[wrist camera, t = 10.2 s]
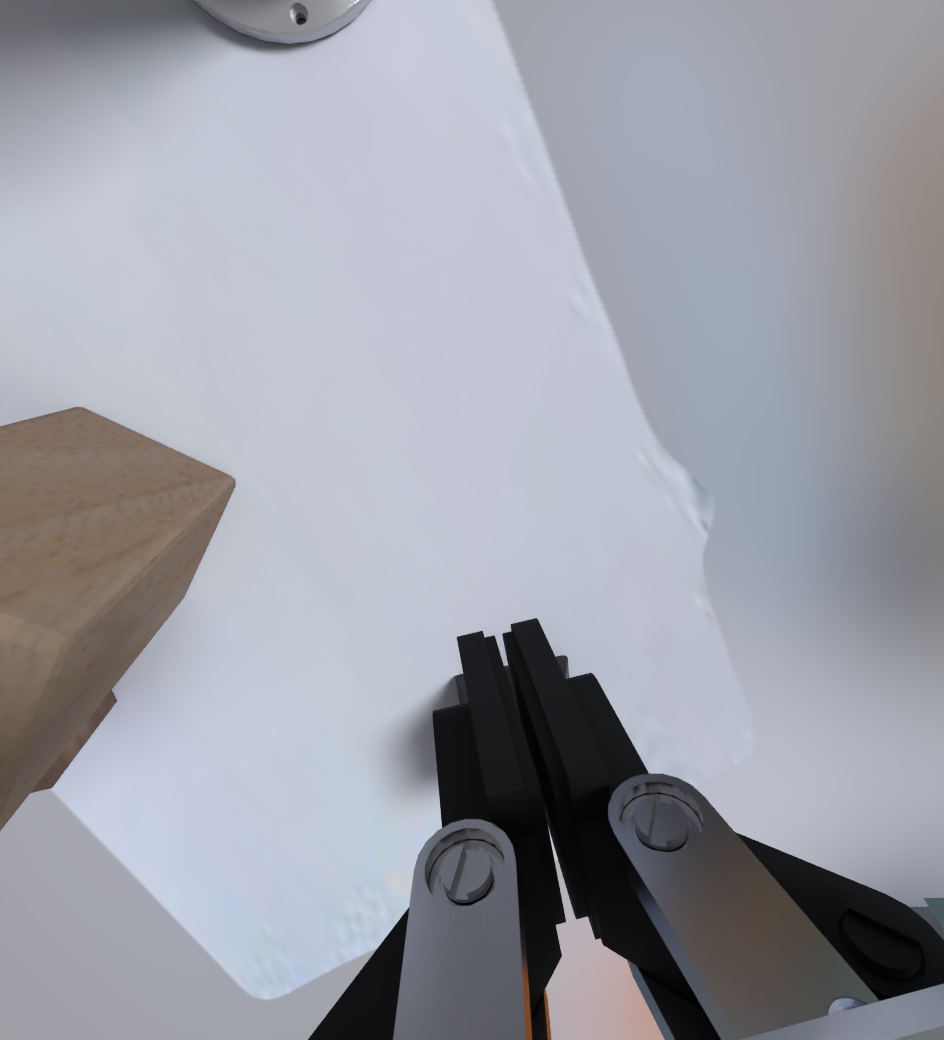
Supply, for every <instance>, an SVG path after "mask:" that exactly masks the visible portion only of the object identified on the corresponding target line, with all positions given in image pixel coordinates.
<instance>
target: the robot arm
mask: <svg viewBox="0 0 944 1040" xmlns="http://www.w3.org/2000/svg"><path fill="white" fill-rule="evenodd" d="M194 1H195V2H196V3H198V4H199V5H200V6H201V7H202V8H204V9H205V10H206V11H207V12H208V13H210V14H211V15H212V16H213V17H214V18H216V19H217V20H219V21H221V22H222V23H224V24H226V25H228V26H229V27H231V28H233V29H235V30H236V31H238V32H240V33H243V34H245V35H248V36H251V37H254V38H257V39H260V40H263V41H269V42H278V43H286V44H292V43H300V42H309V41H314V40H316V39H319V38H322V37H325V36H327V35H330V34H333V33H335V32H336V31H338V30H339V29H341V28H342V27H344V26H345V25H347V24H348V23H349V22H351V21H352V20H354V19H355V18H356V17H357V15H358V14H359V13H360V12H361V11H362V10H363V9H364V8H365V7H366V6H367V5H368V4H369V3H370V1H371V0H194ZM299 18H304V19H305V20H306V23H304V24H302V25H298V24H297V20H298V19H299ZM457 641H458V647H459V652H460V657H461V663H462V668H463V674H464V679H465V684H466V690H467V695H468V701H469V702H468V703H464V704H460V705H456V706H452V707H448V708H444V709H440V710H435V711H433V727H434V738H435V750H436V761H437V773H438V785H439V796H440V808H441V819H442V829H440V830H438V831H437V832H436V833H435V834H434V835H433V836H432V837H431V838H430V839H429V840H428V841H427V842H426V843H425V845H424V847H423V848H422V850H421V851H420V853H419V855H418V858H417V861H416V865H415V869H414V874H413V882H412V891H411V899H410V907H409V908H408V909H407V911H406V912H405V913H404V915H403V916H402V917H401V919H400V920H399V921H398V922H397V924H396V925H395V926H394V928H393V929H392V930H391V932H390V933H389V934H388V936H387V937H386V938H385V939H384V941H383V942H382V943H381V945H380V946H379V947H378V949H377V950H376V951H375V953H374V954H373V955H372V956H371V958H370V959H369V961H368V962H367V963H366V964H365V966H364V967H363V968H362V970H361V971H360V972H359V974H358V975H357V976H356V977H355V979H354V980H353V982H352V983H351V984H350V985H349V987H348V988H347V989H346V991H345V992H344V993H343V994H342V996H341V997H340V998H339V1000H338V1001H337V1002H336V1004H335V1005H334V1006H333V1008H332V1009H331V1010H330V1011H329V1013H328V1014H327V1016H326V1017H325V1018H324V1019H323V1021H322V1022H321V1023H320V1025H319V1026H318V1027H317V1029H316V1030H315V1031H314V1032H313V1034H312V1035H311V1036H310V1038H309V1039H308V1040H551V1030H550V1020H549V1008H548V999H547V994H546V990H545V988H546V986H547V984H548V982H549V980H550V978H551V976H552V974H553V972H554V970H555V968H556V966H557V964H558V962H559V960H560V959H561V957H562V954H561V950H560V945H559V940H558V935H557V930H556V925H557V924H561V923H564V922H566V919H565V913H564V909H563V904H562V898H561V893H560V888H559V882H558V877H557V872H556V866H555V861H554V856H553V851H552V845H551V840H550V835H549V830H550V834H551V837H552V840H553V844H554V847H555V851H556V854H557V857H558V861H559V864H560V867H561V871H562V874H563V877H564V881H565V884H566V888H567V891H568V894H569V898H570V901H571V905H572V908H573V911H574V914H575V917H576V919H579V918H583V917H587V916H588V918H589V921H590V924H591V927H592V930H593V933H594V937H595V939H599V938H601V940H602V943H603V945H604V946H606V947H608V948H609V949H610V950H612V951H614V952H616V953H617V954H619V955H620V956H622V957H624V958H625V959H627V961H628V964H629V967H630V969H631V972H632V975H633V977H634V979H635V981H636V983H637V985H638V987H639V989H640V991H641V993H642V995H643V997H644V999H645V1001H646V1003H647V1005H648V1007H649V1009H650V1011H651V1013H652V1015H653V1017H654V1019H655V1021H656V1023H657V1025H658V1027H659V1029H660V1031H661V1033H662V1035H663V1037H664V1039H665V1040H944V898H924V899H923V905H922V907H908V906H907V905H905V904H903V903H901V902H899V901H897V900H896V899H894V898H892V897H890V896H888V895H886V894H884V893H882V892H879V891H877V890H875V889H872V888H869V887H867V886H865V885H862V884H860V883H857V882H855V881H853V880H850V879H848V878H845V877H843V876H840V875H838V874H835V873H833V872H831V871H828V870H826V869H823V868H821V867H818V866H816V865H814V864H811V863H809V862H806V861H804V860H801V859H799V858H797V857H794V856H792V855H789V854H787V853H784V852H782V851H780V850H777V849H775V848H772V847H770V846H767V845H765V844H763V843H760V842H758V841H755V840H752V839H750V838H748V837H746V836H743V835H741V834H738V833H736V832H734V831H733V829H732V828H731V827H730V826H729V825H728V824H727V822H726V821H725V820H724V819H723V818H722V817H721V816H720V814H719V813H718V812H717V811H716V810H715V808H714V807H713V806H712V805H711V804H710V803H709V802H708V800H707V799H706V798H705V797H704V796H703V795H702V794H701V793H700V792H699V791H698V790H697V789H695V788H694V787H693V786H692V785H690V784H688V783H687V782H685V781H683V780H681V779H679V778H677V777H673V776H669V775H665V774H649V773H648V771H647V769H646V767H645V765H644V764H643V762H642V760H641V758H640V756H639V755H638V753H637V751H636V749H635V747H634V746H633V744H632V742H631V740H630V738H629V737H628V735H627V733H626V731H625V729H624V728H623V726H622V724H621V722H620V720H619V718H618V717H617V715H616V713H615V711H614V709H613V708H612V706H611V704H610V702H609V700H608V699H607V697H606V695H605V693H604V691H603V690H602V688H601V686H600V684H599V682H598V681H597V679H596V677H595V676H594V674H592V673H588V674H584V675H580V676H576V677H572V678H568V679H565V677H564V674H563V672H562V670H561V668H560V666H559V664H558V662H557V659H556V657H555V655H554V653H553V651H552V649H551V647H550V644H549V642H548V640H547V638H546V636H545V634H544V632H543V629H542V627H541V625H540V623H539V621H538V619H537V618H535V619H531V620H527V621H522V622H518V623H514V624H511V632H507V633H503V641H504V646H505V651H506V656H507V661H508V666H509V671H510V676H511V681H512V686H513V691H514V696H515V701H516V704H515V701H514V698H513V695H512V691H511V688H510V685H509V681H508V678H507V675H506V672H505V668H504V665H503V662H502V658H501V655H500V652H499V649H498V645H497V642H496V639H495V636H490V637H486V638H484V634H483V631H480V632H476V633H471V634H467V635H463V636H459V637H457ZM516 706H517V708H516ZM548 827H549V830H548Z"/></svg>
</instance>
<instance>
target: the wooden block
mask: <svg viewBox="0 0 944 1040" xmlns="http://www.w3.org/2000/svg"><path fill="white" fill-rule="evenodd" d="M234 488H235V479H234V478H233V477H231V476H230V475H228V474H225V473H223V472H221V471H219V470H217V469H215V468H212V467H210V466H208V465H206V464H204V463H202V462H199V461H197V460H195V459H193V458H191V457H189V456H187V455H184V454H182V453H180V452H178V451H176V450H174V449H171V448H169V447H167V446H165V445H163V444H161V443H159V442H156V441H154V440H152V439H150V438H148V437H146V436H143V435H141V434H139V433H137V432H135V431H133V430H130V429H128V428H126V427H124V426H122V425H120V424H118V423H115V422H113V421H111V420H109V419H107V418H105V417H102V416H100V415H98V414H96V413H94V412H92V411H89V410H87V409H85V408H81V407H74V408H71V409H67V410H63V411H59V412H55V413H51V414H47V415H43V416H39V417H36V418H32V419H28V420H24V421H20V422H16V423H12V424H8V425H4V426H0V831H1V829H2V828H3V827H4V826H5V824H6V823H7V822H8V820H9V819H10V818H11V817H12V815H13V814H14V813H15V811H16V810H17V809H18V808H19V807H20V805H21V804H22V803H23V801H24V800H25V799H26V798H27V796H28V795H29V794H30V793H31V791H32V790H33V789H34V787H35V786H36V785H37V784H38V782H39V781H40V780H41V779H42V777H43V776H44V775H45V774H46V772H47V771H48V770H49V768H50V767H51V766H52V765H53V763H54V762H55V761H56V760H57V758H58V757H59V756H60V754H61V753H62V752H63V751H64V749H65V748H66V747H67V746H68V744H69V743H70V742H71V740H72V739H73V738H74V737H75V735H76V734H77V733H78V732H79V730H80V729H81V728H82V727H83V725H84V724H85V723H86V721H87V720H88V719H89V718H90V716H91V715H92V714H93V713H94V711H95V710H96V709H97V707H98V706H99V705H100V704H101V702H102V701H103V700H104V699H105V697H106V696H107V695H108V694H109V692H110V691H111V690H112V688H113V687H114V686H115V685H116V683H117V682H118V681H119V680H120V678H121V677H122V676H123V674H124V673H125V672H126V671H127V669H128V668H129V667H130V666H131V664H132V663H133V662H134V660H135V659H136V658H137V657H138V655H139V654H140V653H141V652H142V650H143V649H144V648H145V647H146V645H147V644H148V643H149V641H150V640H151V639H152V638H153V636H154V635H155V634H156V633H157V631H158V630H159V629H160V627H161V626H162V625H163V624H164V622H165V621H166V620H167V619H168V617H169V616H170V615H171V614H172V612H173V611H174V610H175V608H176V607H177V606H178V605H179V603H180V602H181V601H182V600H183V598H184V597H185V594H186V592H187V590H188V588H189V586H190V583H191V581H192V579H193V577H194V575H195V573H196V570H197V568H198V566H199V564H200V562H201V560H202V557H203V555H204V553H205V551H206V549H207V547H208V544H209V542H210V540H211V538H212V536H213V534H214V531H215V529H216V527H217V525H218V523H219V521H220V518H221V516H222V514H223V512H224V510H225V508H226V505H227V503H228V501H229V499H230V497H231V494H232V492H233V490H234Z"/></svg>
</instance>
